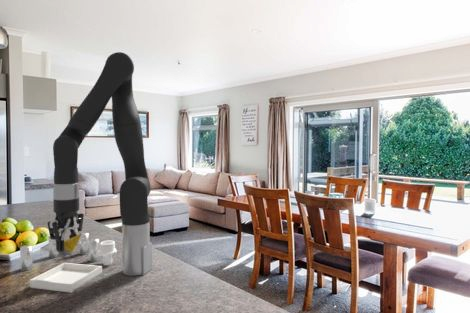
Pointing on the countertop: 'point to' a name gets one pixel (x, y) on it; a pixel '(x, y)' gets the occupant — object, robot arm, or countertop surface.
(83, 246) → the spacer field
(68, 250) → the stepped yellow cone
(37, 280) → the tray
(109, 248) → the pipe fitting
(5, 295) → the countertop surface
